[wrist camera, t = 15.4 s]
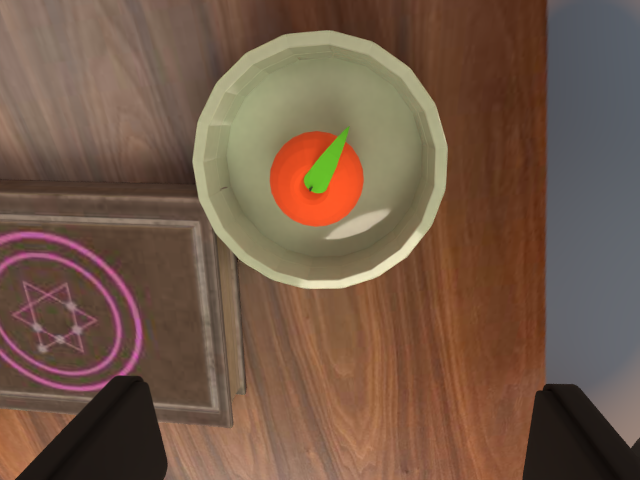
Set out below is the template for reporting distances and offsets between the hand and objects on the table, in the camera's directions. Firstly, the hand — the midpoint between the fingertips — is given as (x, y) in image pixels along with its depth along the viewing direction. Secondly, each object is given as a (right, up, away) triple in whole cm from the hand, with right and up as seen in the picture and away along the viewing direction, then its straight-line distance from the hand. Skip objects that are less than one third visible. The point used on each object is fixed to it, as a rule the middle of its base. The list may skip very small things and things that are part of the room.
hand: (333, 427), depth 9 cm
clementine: (0, +11, +21) cm, 24 cm away
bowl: (0, +11, +21) cm, 24 cm away
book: (-23, 0, +27) cm, 36 cm away
